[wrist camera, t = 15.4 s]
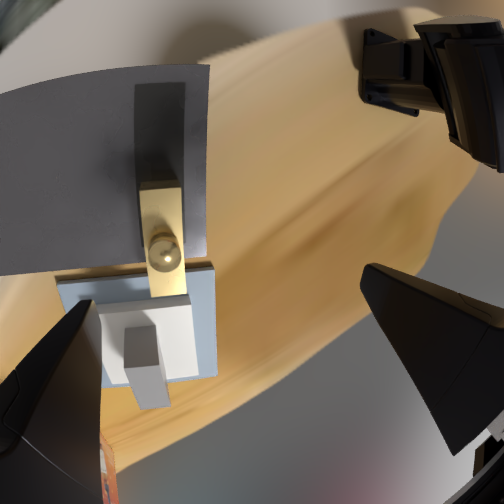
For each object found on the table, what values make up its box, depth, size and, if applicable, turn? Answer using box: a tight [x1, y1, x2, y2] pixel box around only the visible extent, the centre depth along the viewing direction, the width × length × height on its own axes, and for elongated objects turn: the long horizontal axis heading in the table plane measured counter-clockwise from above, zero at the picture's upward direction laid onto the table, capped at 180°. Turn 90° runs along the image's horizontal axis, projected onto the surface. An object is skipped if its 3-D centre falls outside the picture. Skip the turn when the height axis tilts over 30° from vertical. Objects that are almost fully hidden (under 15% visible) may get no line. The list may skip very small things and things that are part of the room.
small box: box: [100, 432, 119, 504], centre depth 23 cm, size 8×6×10 cm
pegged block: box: [139, 179, 186, 297], centre depth 15 cm, size 2×6×3 cm, turn 178°
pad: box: [57, 266, 218, 388], centre depth 22 cm, size 12×12×1 cm
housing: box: [0, 64, 210, 276], centre depth 14 cm, size 16×11×3 cm
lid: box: [96, 295, 199, 410], centre depth 20 cm, size 8×8×5 cm
